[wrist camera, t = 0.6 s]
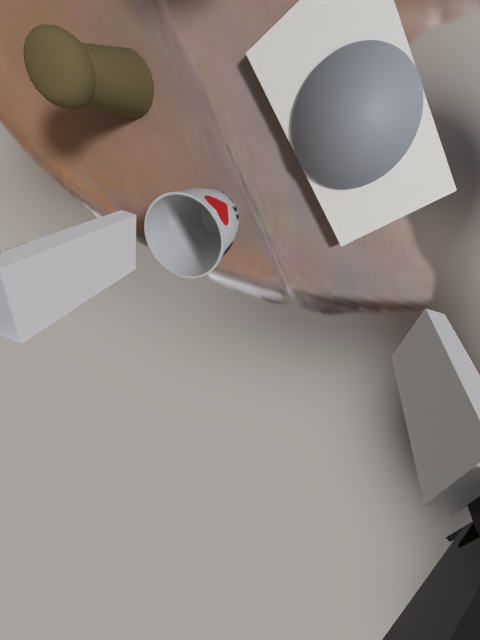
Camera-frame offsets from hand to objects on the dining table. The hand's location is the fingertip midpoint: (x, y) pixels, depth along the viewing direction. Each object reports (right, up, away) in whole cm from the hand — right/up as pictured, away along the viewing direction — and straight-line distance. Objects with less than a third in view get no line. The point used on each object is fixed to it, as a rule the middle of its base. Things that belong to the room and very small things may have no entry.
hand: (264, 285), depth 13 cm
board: (+9, +17, +14) cm, 24 cm away
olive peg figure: (-13, +24, +18) cm, 33 cm away
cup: (-4, +11, +23) cm, 26 cm away
